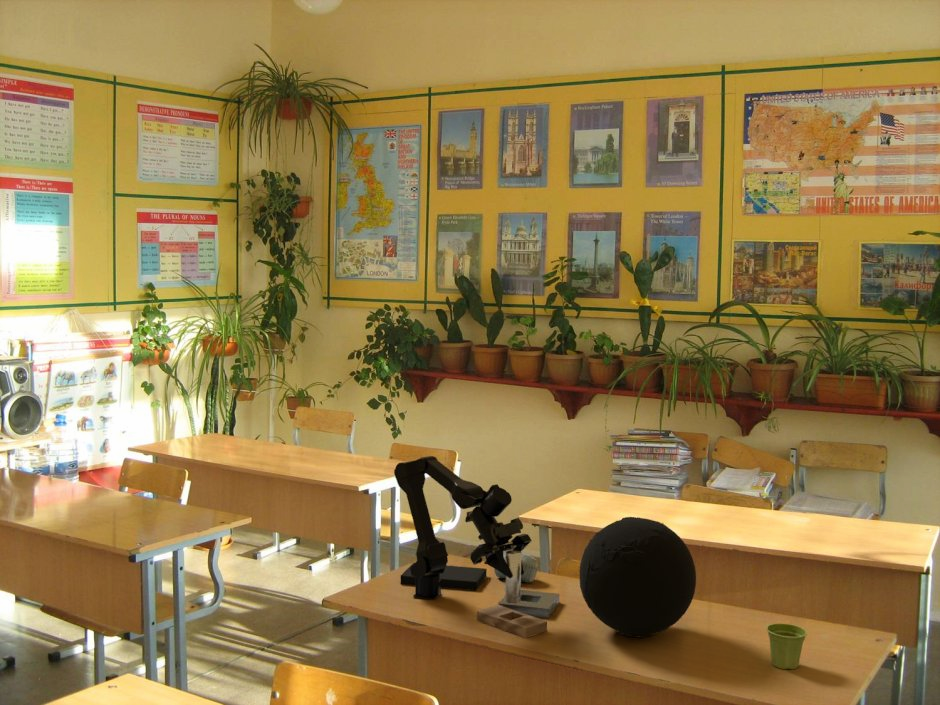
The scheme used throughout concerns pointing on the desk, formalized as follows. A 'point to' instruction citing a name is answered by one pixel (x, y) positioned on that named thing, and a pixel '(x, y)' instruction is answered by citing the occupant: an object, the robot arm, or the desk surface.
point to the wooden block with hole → (511, 621)
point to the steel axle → (515, 582)
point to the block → (534, 603)
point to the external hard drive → (453, 577)
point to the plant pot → (786, 644)
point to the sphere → (637, 576)
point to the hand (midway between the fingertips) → (517, 575)
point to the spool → (524, 568)
